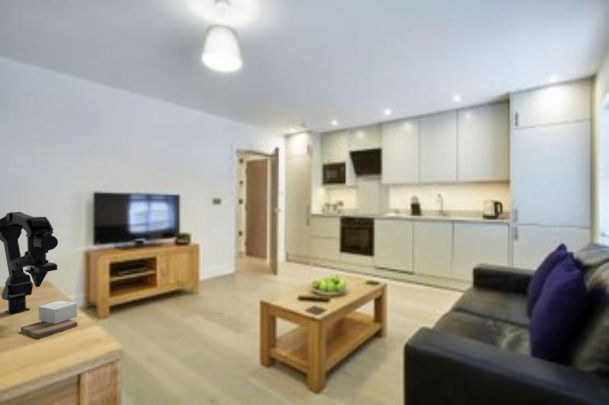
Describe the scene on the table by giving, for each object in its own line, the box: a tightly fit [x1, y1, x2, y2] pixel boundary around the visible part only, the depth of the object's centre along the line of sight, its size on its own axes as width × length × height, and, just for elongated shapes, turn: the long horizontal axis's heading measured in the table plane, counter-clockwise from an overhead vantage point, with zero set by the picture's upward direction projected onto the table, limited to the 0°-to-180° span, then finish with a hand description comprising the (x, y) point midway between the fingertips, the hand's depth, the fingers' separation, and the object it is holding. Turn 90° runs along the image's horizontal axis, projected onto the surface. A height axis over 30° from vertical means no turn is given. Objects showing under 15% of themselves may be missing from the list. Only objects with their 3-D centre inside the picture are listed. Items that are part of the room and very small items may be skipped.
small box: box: [38, 300, 78, 324], centre depth 125 cm, size 8×6×10 cm
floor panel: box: [20, 319, 78, 340], centre depth 119 cm, size 14×12×2 cm
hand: (37, 286), depth 130 cm, fingers closed
